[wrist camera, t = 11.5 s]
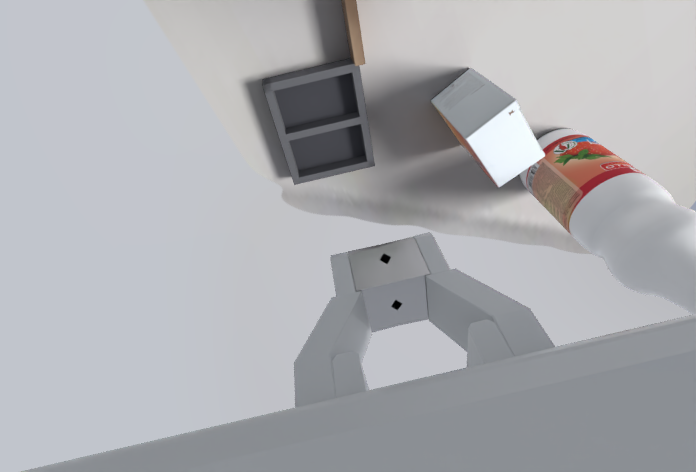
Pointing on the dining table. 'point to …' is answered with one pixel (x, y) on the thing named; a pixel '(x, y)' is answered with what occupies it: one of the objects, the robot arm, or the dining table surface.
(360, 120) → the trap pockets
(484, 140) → the small box
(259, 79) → the dining table surface
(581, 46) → the dining table surface
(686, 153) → the dining table surface
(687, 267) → the fruit juice
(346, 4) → the lane walls
